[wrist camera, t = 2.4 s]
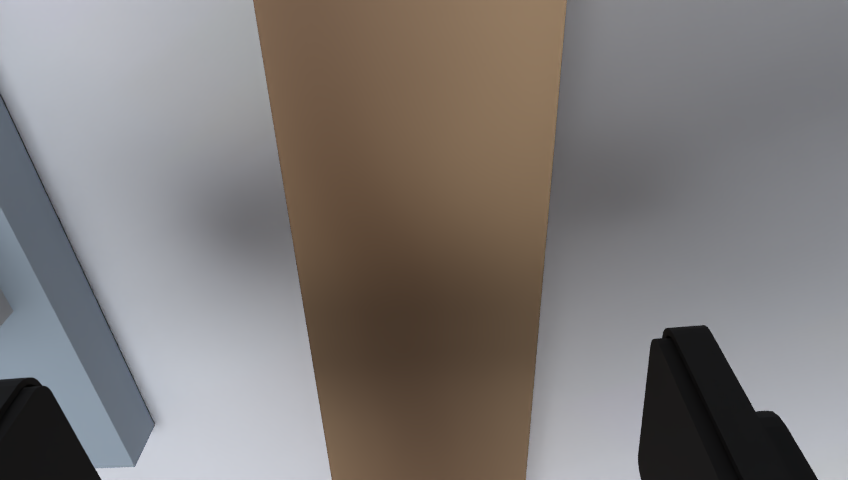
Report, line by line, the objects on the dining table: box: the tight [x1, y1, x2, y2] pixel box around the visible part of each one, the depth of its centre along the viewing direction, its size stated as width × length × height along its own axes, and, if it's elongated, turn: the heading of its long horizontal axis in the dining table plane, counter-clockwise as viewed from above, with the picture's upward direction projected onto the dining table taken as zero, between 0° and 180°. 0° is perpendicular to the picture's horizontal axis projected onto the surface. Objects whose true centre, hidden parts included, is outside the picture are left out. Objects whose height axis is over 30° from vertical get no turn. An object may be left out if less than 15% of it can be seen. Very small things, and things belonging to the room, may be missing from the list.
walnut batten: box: [253, 0, 567, 480], centre depth 14 cm, size 4×22×5 cm, turn 2°
